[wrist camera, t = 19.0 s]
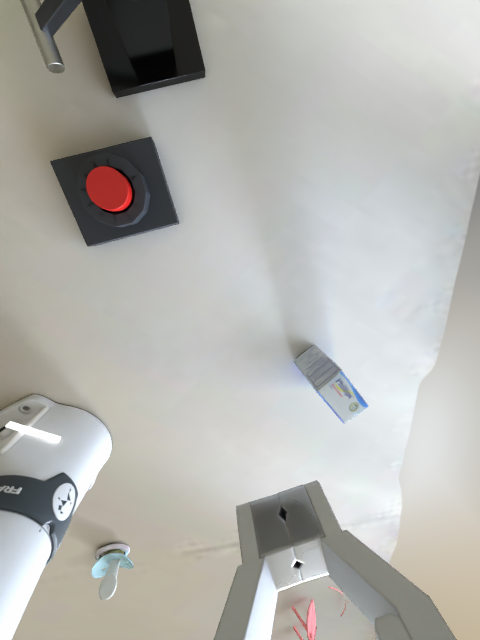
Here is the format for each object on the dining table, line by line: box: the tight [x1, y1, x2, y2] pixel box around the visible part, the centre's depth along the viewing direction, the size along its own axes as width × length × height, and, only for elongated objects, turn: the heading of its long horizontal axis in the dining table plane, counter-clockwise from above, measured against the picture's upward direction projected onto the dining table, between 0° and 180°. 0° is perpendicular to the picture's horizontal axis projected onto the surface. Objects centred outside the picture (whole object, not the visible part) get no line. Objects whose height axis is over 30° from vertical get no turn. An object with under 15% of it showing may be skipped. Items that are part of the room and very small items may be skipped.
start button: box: [86, 166, 133, 212], centre depth 26 cm, size 4×4×2 cm
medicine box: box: [294, 345, 368, 423], centre depth 38 cm, size 8×4×9 cm, turn 39°
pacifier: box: [92, 543, 133, 600], centre depth 46 cm, size 7×6×6 cm
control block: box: [50, 137, 179, 246], centre depth 29 cm, size 11×9×4 cm
